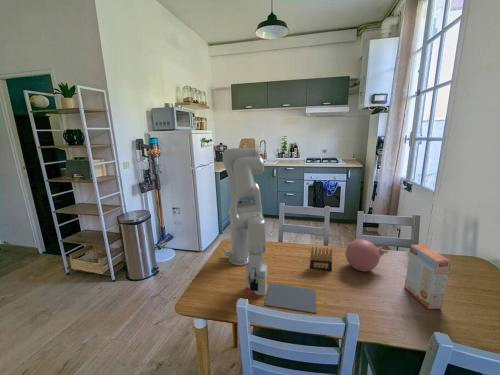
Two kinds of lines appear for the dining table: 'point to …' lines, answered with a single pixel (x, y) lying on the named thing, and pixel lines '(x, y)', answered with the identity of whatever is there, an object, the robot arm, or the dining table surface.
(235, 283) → the dining table surface
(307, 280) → the dining table surface
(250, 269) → the robot arm
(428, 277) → the cracker box
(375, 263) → the pink balloon
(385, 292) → the dining table surface
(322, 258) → the ammunition clip
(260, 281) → the ink box
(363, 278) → the dining table surface
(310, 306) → the mat
